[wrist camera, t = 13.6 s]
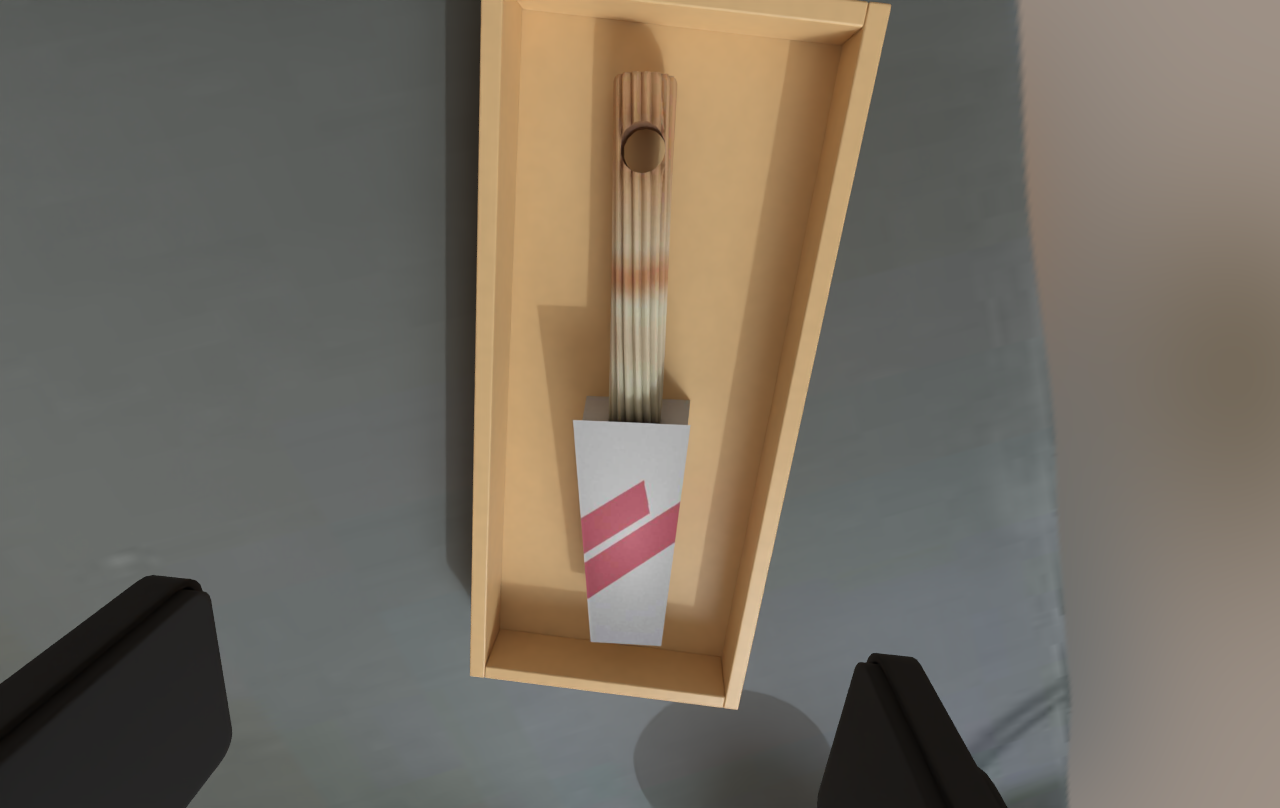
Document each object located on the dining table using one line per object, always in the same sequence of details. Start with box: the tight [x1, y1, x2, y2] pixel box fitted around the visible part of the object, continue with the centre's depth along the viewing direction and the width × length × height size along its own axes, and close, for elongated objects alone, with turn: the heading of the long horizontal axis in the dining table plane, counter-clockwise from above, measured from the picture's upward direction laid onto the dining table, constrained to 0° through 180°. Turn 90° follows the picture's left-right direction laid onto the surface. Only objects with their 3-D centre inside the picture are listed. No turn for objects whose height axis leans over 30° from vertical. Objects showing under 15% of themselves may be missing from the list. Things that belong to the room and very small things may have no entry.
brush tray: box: [470, 0, 891, 710], centre depth 21 cm, size 11×24×3 cm, turn 174°
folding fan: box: [573, 71, 691, 646], centre depth 20 cm, size 4×3×20 cm
